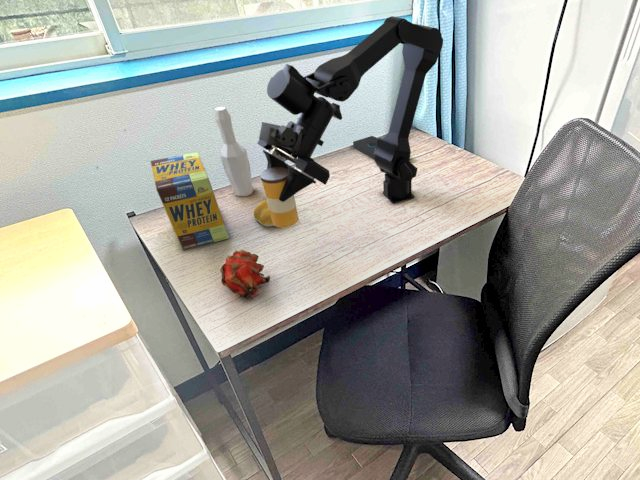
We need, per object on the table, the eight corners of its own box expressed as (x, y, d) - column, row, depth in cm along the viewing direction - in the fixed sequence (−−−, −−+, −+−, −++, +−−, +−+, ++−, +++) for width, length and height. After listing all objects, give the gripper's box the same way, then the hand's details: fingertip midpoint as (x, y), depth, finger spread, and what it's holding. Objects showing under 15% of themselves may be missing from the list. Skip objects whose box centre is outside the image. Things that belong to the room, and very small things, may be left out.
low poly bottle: (239, 185, 120) (215, 103, 105) (260, 187, 119) (238, 104, 104) (228, 196, 115) (201, 112, 100) (249, 198, 114) (225, 114, 99)
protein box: (183, 251, 97) (155, 189, 87) (174, 219, 107) (149, 160, 97) (229, 238, 101) (209, 177, 90) (217, 208, 111) (197, 150, 100)
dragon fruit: (246, 274, 93) (261, 314, 87) (206, 268, 87) (220, 310, 81) (263, 245, 90) (280, 284, 83) (223, 235, 84) (238, 277, 77)
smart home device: (372, 134, 140) (411, 155, 128) (373, 140, 141) (411, 161, 130) (351, 141, 137) (388, 163, 125) (352, 146, 138) (388, 168, 126)
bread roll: (267, 232, 103) (263, 217, 100) (250, 217, 108) (246, 202, 105) (297, 219, 106) (294, 205, 104) (279, 205, 112) (276, 191, 109)
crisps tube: (297, 211, 96) (287, 165, 89) (301, 224, 92) (291, 177, 85) (270, 216, 95) (258, 169, 87) (273, 230, 91) (261, 182, 83)
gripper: (254, 92, 85) (218, 163, 87) (306, 117, 74) (264, 197, 77) (296, 122, 94) (262, 185, 96) (347, 148, 84) (309, 218, 86)
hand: (273, 195), depth 88 cm, fingers closed on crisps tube, 6 cm apart
